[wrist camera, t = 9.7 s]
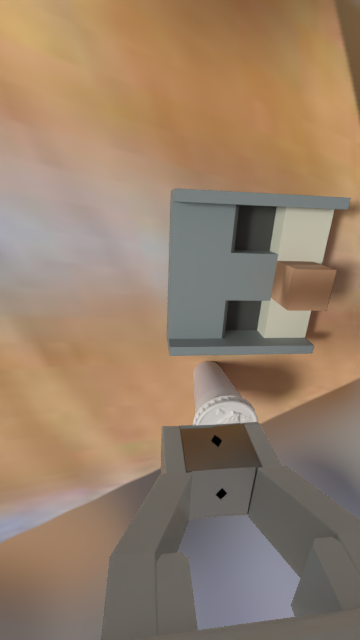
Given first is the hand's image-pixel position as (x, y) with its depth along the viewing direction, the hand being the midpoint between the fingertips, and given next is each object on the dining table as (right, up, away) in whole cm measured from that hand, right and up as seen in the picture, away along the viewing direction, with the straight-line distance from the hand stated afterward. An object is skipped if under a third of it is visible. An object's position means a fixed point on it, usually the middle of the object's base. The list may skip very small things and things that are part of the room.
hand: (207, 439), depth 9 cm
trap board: (+6, +9, +23) cm, 25 cm away
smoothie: (+3, -3, +28) cm, 28 cm away
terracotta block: (+11, +8, +21) cm, 25 cm away
